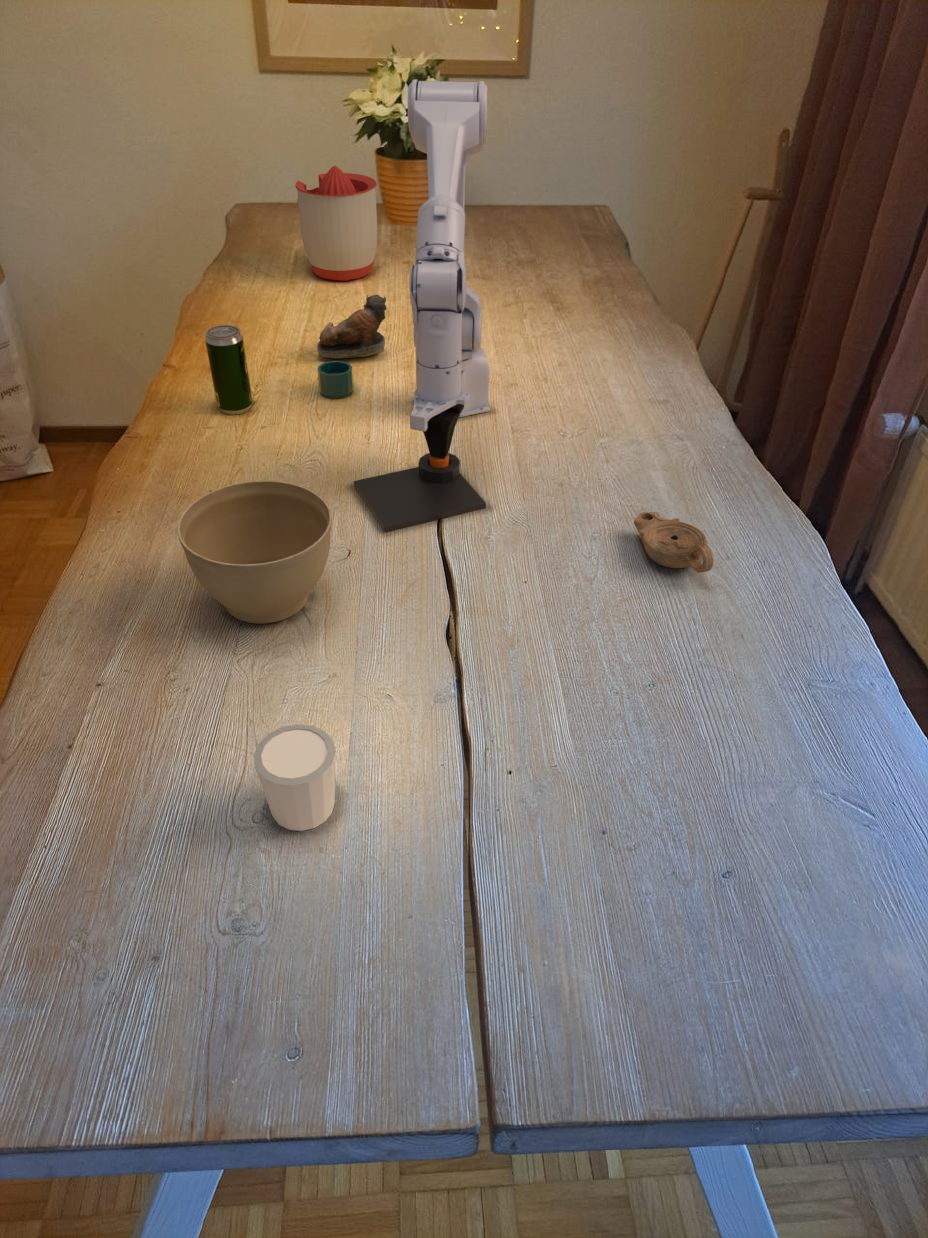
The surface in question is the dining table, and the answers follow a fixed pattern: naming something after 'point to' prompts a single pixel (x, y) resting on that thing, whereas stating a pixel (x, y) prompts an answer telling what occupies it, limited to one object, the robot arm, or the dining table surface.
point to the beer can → (229, 369)
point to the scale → (419, 494)
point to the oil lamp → (673, 542)
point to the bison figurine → (355, 332)
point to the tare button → (439, 462)
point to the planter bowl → (257, 546)
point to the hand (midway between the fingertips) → (439, 455)
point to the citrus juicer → (339, 224)
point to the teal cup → (335, 379)
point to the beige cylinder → (297, 775)
